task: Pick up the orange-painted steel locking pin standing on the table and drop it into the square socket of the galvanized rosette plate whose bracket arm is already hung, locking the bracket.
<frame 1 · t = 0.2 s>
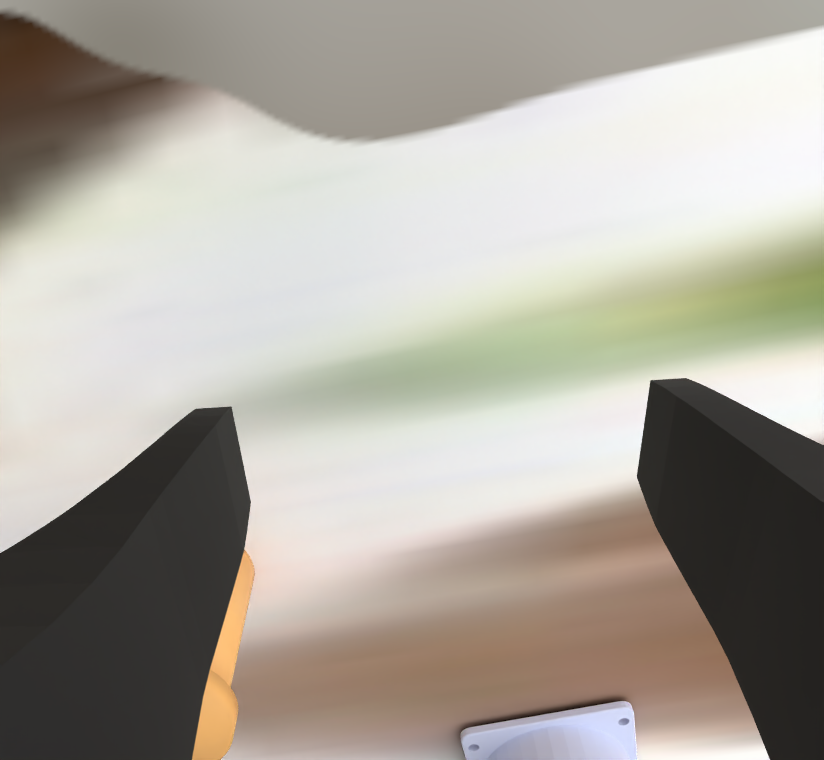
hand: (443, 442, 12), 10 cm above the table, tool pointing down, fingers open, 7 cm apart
pin: (202, 570, 26), on the table
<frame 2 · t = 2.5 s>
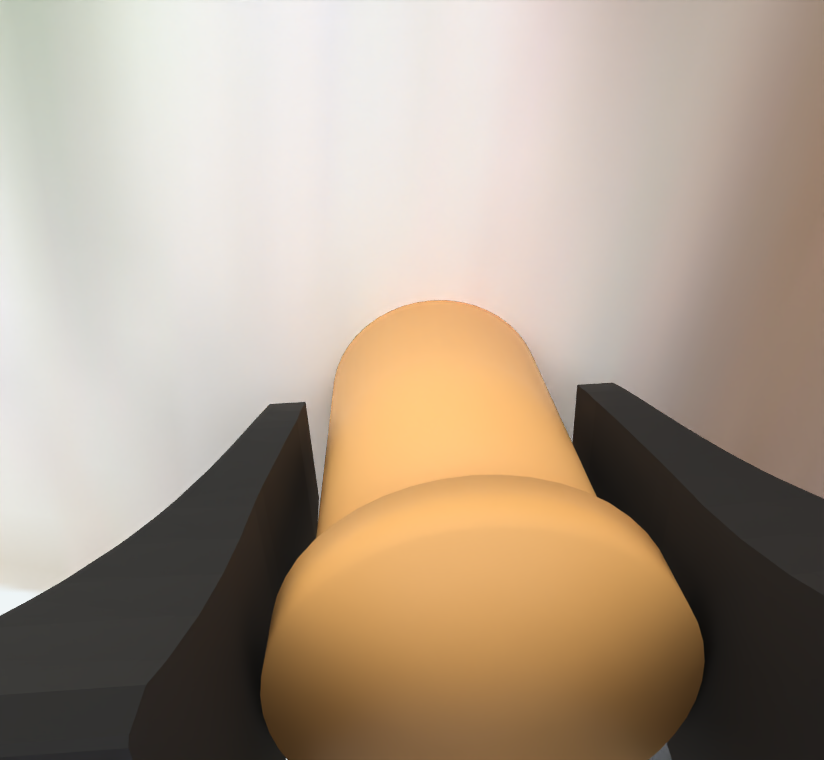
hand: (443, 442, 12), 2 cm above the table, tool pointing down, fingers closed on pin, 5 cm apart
pin: (436, 396, 13), on the table, touching gripper
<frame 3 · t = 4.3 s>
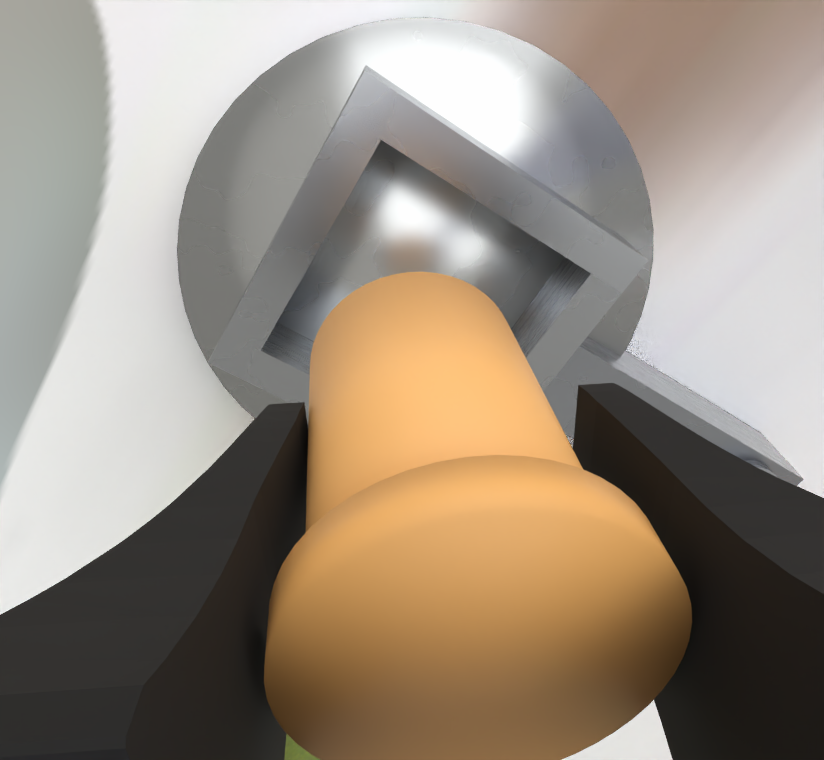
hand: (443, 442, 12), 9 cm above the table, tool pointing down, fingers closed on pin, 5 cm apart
pin: (413, 367, 13), point 7 cm above the table, tilted 5°, touching gripper
plant pot: (351, 705, 29), on the table
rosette: (416, 272, 19), on the table
when the fingers open (4 cm above the table, at t = 6.1 s): pin stays where it is, resting on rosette.
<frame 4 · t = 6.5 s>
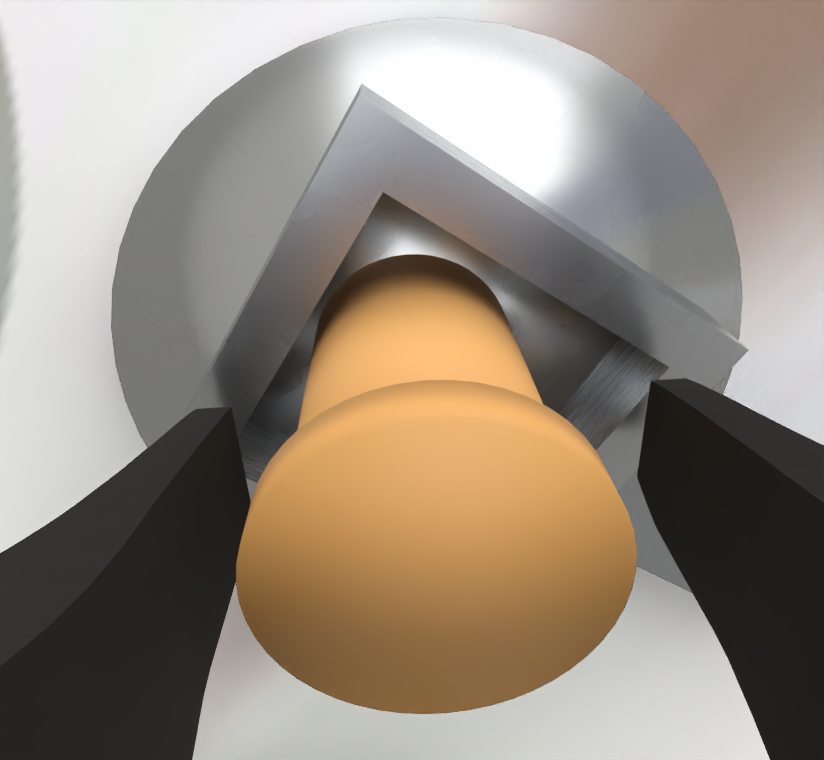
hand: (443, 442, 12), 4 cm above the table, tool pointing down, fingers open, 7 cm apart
pin: (412, 347, 14), point 1 cm above the table, touching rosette
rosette: (428, 347, 15), on the table
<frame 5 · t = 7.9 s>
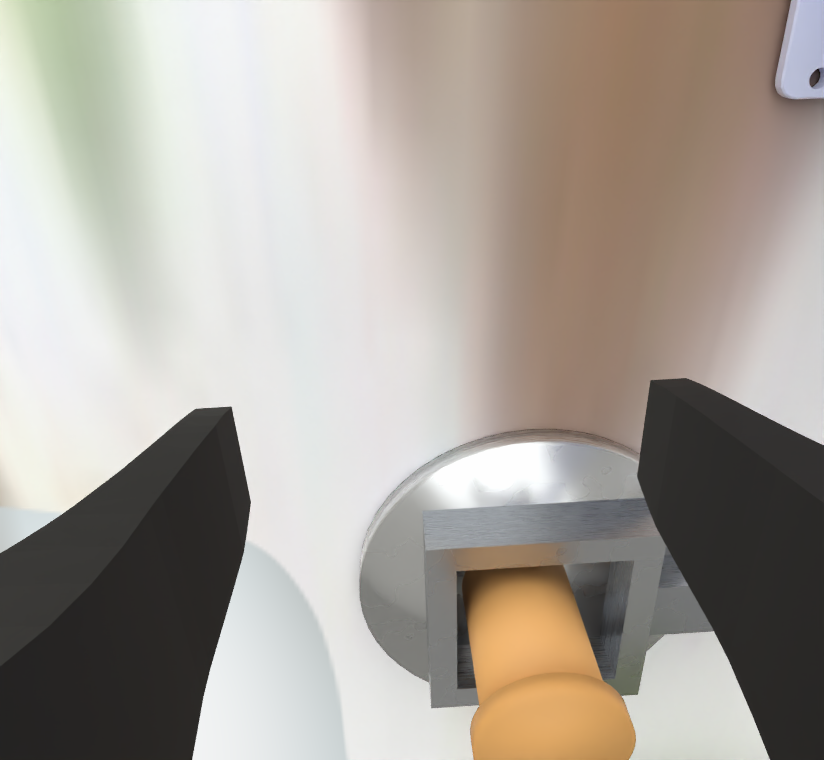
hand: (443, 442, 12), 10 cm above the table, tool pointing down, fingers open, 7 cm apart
pin: (514, 583, 26), point 1 cm above the table, touching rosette
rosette: (524, 567, 27), on the table
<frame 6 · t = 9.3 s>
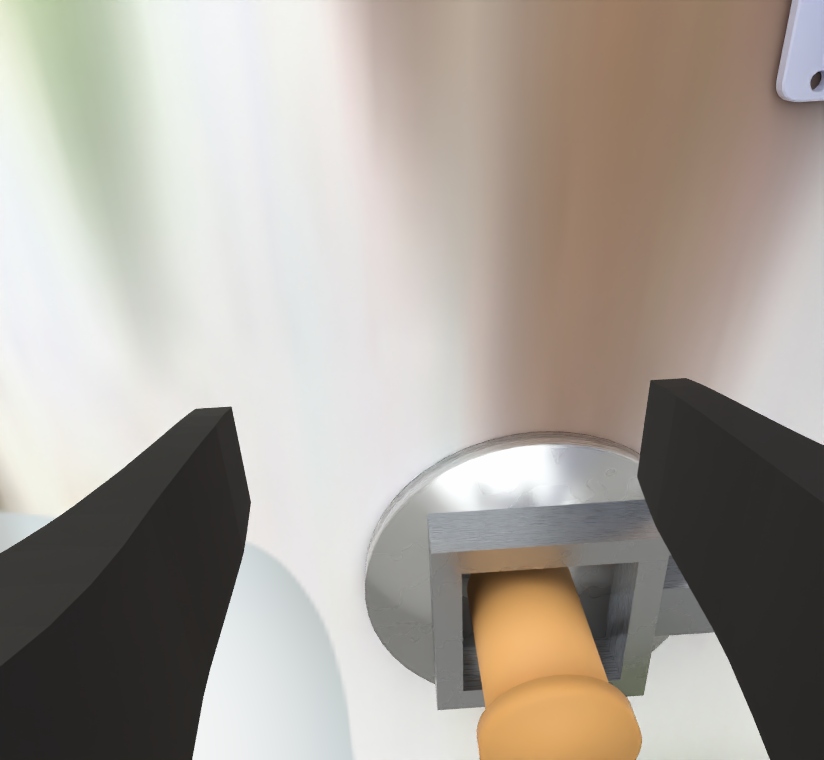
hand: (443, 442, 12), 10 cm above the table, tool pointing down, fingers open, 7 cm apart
pin: (519, 585, 26), point 1 cm above the table, touching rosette
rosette: (529, 569, 27), on the table
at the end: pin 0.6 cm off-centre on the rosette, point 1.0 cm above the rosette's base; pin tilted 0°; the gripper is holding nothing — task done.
